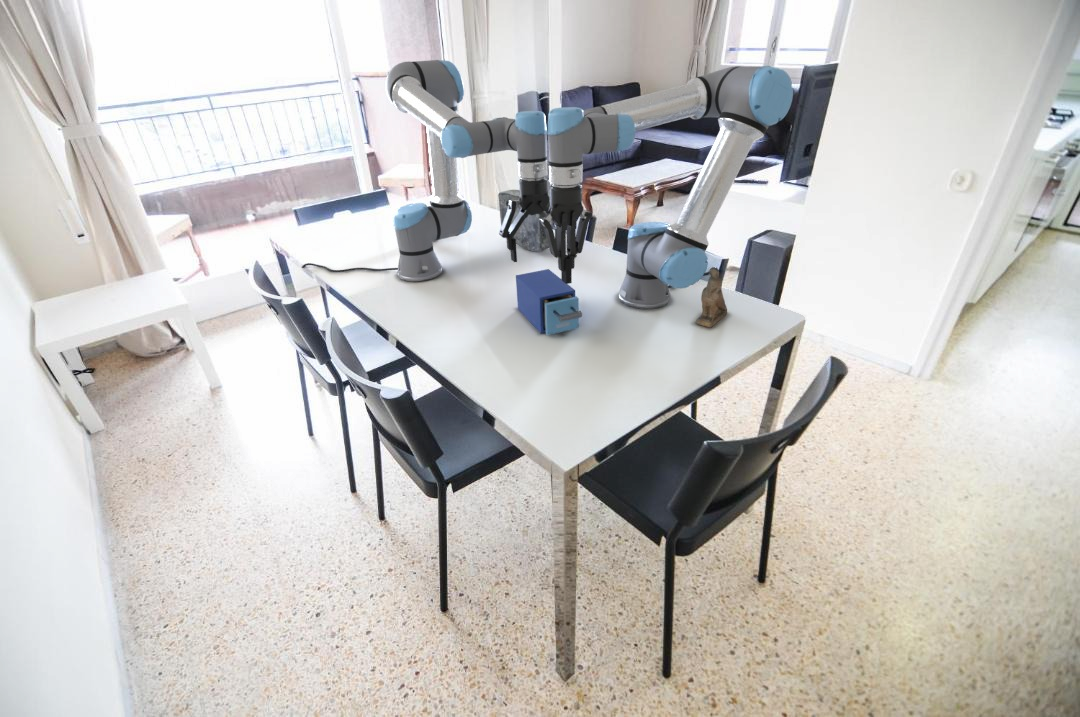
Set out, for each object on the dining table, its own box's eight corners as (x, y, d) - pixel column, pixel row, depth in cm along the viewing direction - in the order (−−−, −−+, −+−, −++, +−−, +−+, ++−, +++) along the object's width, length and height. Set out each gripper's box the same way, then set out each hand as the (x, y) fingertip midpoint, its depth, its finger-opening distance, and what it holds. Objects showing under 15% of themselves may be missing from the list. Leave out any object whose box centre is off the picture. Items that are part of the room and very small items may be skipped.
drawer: (587, 336, 131) (588, 305, 127) (555, 344, 128) (555, 313, 124) (553, 304, 149) (552, 277, 144) (524, 311, 146) (523, 282, 141)
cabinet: (575, 325, 139) (575, 290, 133) (540, 333, 135) (539, 297, 130) (549, 302, 153) (548, 268, 147) (517, 308, 149) (515, 275, 144)
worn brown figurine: (709, 335, 136) (713, 280, 124) (691, 329, 139) (693, 274, 128) (730, 313, 142) (736, 258, 130) (712, 307, 145) (716, 253, 133)
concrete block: (558, 253, 189) (557, 199, 178) (539, 258, 184) (537, 204, 174) (519, 237, 207) (516, 187, 197) (501, 241, 203) (497, 191, 193)
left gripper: (492, 186, 121) (499, 268, 132) (582, 174, 129) (582, 253, 140) (482, 181, 127) (490, 260, 138) (570, 170, 135) (570, 245, 146)
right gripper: (546, 191, 107) (548, 292, 119) (599, 183, 111) (596, 282, 123) (532, 184, 113) (536, 281, 125) (583, 177, 117) (582, 272, 129)
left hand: (536, 256), depth 139 cm, fingers open, 13 cm apart
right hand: (566, 281), depth 124 cm, fingers closed
